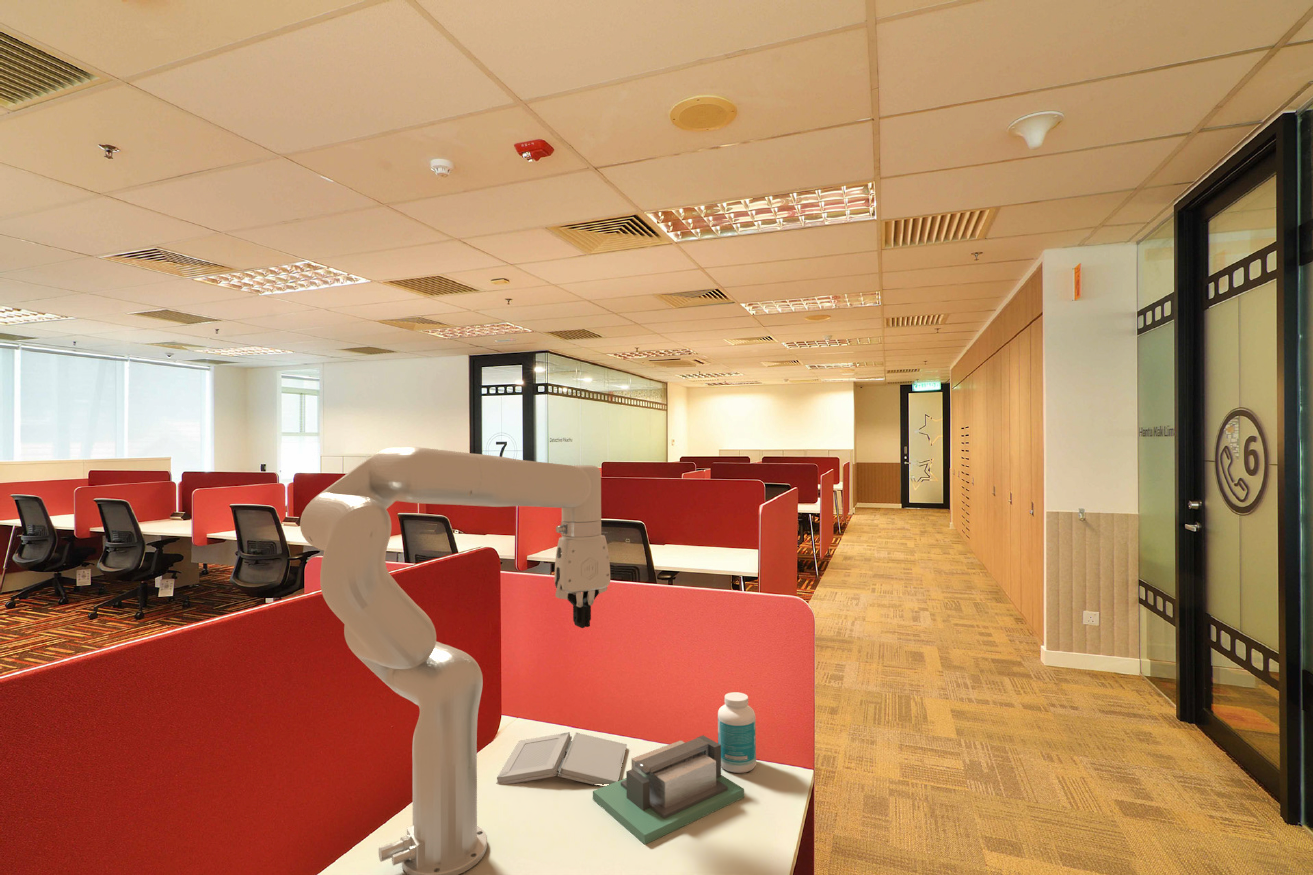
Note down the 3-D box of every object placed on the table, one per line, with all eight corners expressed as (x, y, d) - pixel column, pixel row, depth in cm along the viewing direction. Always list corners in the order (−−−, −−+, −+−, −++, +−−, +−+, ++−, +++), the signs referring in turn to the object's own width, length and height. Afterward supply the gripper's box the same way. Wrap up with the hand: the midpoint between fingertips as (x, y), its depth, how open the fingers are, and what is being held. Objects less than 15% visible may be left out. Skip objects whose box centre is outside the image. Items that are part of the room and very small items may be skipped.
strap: (645, 784, 106) (645, 768, 106) (635, 776, 109) (634, 761, 109) (709, 757, 115) (709, 743, 115) (698, 750, 118) (697, 736, 118)
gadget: (627, 750, 130) (627, 732, 130) (618, 790, 115) (618, 770, 115) (519, 748, 132) (519, 730, 132) (496, 787, 117) (496, 766, 117)
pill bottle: (763, 770, 121) (762, 700, 121) (729, 777, 118) (728, 706, 118) (744, 752, 128) (743, 686, 128) (711, 759, 125) (711, 692, 125)
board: (644, 844, 98) (644, 797, 98) (592, 799, 111) (592, 757, 111) (744, 797, 111) (743, 755, 112) (687, 761, 124) (687, 724, 124)
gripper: (555, 535, 111) (556, 637, 111) (624, 528, 120) (625, 623, 120) (537, 531, 117) (537, 628, 117) (604, 524, 126) (604, 615, 126)
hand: (582, 625), depth 118 cm, fingers closed
